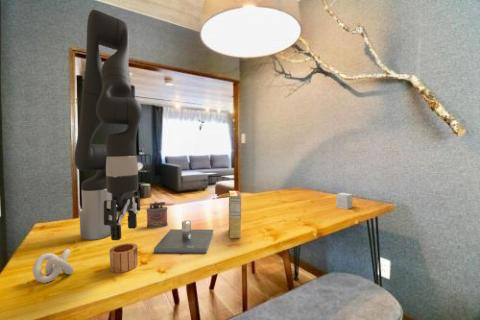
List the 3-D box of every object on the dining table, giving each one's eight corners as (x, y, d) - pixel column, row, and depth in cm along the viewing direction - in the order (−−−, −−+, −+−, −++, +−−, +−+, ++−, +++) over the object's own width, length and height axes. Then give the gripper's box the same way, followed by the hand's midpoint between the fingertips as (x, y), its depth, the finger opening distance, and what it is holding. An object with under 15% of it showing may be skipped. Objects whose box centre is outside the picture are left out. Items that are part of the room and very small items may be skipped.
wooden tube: (104, 272, 59) (104, 253, 59) (118, 260, 66) (118, 243, 65) (130, 273, 59) (129, 253, 59) (141, 260, 65) (141, 243, 65)
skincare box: (341, 205, 127) (341, 192, 127) (352, 207, 122) (352, 194, 122) (335, 207, 123) (336, 193, 123) (347, 209, 119) (347, 195, 118)
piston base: (154, 252, 70) (153, 230, 70) (170, 233, 86) (170, 214, 86) (206, 253, 70) (206, 230, 70) (213, 233, 86) (213, 215, 86)
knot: (84, 270, 60) (83, 248, 60) (53, 288, 53) (51, 263, 52) (62, 266, 62) (61, 245, 62) (28, 283, 55) (27, 259, 54)
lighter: (146, 228, 92) (145, 203, 91) (147, 225, 95) (146, 201, 94) (167, 226, 94) (167, 202, 93) (167, 223, 97) (167, 200, 96)
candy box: (228, 229, 90) (228, 190, 89) (239, 229, 90) (239, 190, 90) (229, 238, 81) (229, 195, 80) (241, 238, 82) (241, 195, 81)
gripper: (122, 171, 68) (124, 225, 69) (90, 176, 54) (94, 244, 55) (147, 170, 68) (149, 224, 69) (122, 176, 54) (125, 244, 55)
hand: (124, 233), depth 62 cm, fingers open, 8 cm apart
